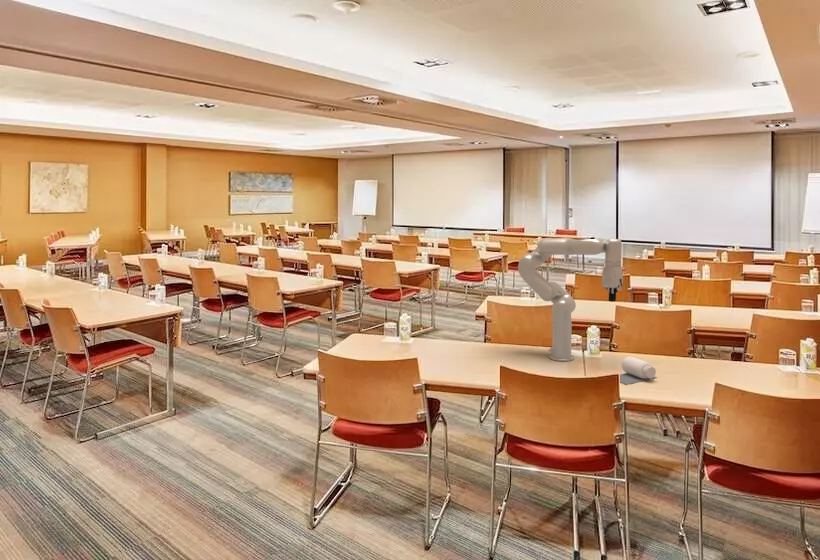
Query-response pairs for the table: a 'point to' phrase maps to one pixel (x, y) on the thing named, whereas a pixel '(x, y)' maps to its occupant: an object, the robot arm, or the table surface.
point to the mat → (631, 379)
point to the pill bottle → (638, 368)
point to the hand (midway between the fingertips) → (612, 301)
